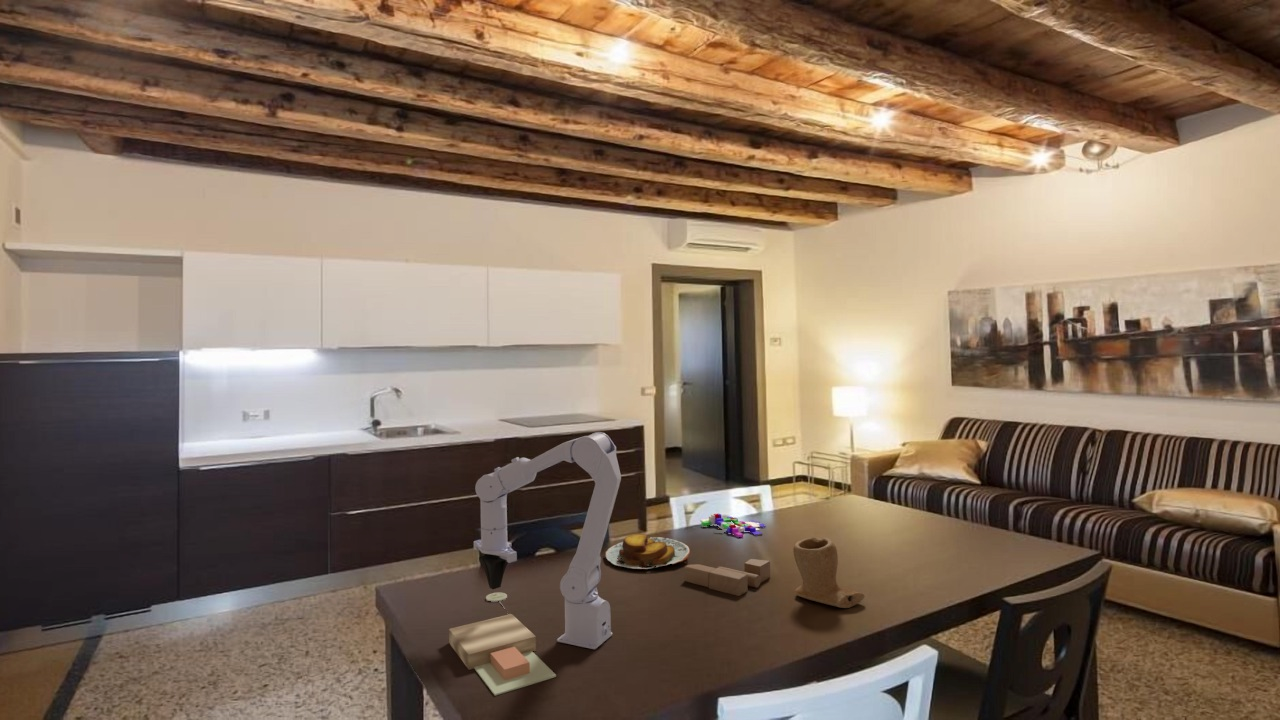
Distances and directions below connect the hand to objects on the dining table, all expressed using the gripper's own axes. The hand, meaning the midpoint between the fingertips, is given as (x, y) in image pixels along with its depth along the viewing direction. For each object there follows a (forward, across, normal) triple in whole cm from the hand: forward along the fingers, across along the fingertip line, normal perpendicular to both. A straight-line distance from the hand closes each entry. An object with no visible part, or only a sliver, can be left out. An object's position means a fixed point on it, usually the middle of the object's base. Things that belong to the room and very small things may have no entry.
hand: (495, 587), depth 140 cm
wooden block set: (+10, -20, -60) cm, 64 cm away
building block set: (+10, +10, -104) cm, 105 cm away
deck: (+9, -7, +5) cm, 13 cm away
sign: (+10, +11, -9) cm, 18 cm away
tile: (+9, -18, +8) cm, 22 cm away
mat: (+9, -20, +8) cm, 23 cm away
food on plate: (+10, +9, -59) cm, 60 cm away
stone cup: (+10, -46, -63) cm, 79 cm away
